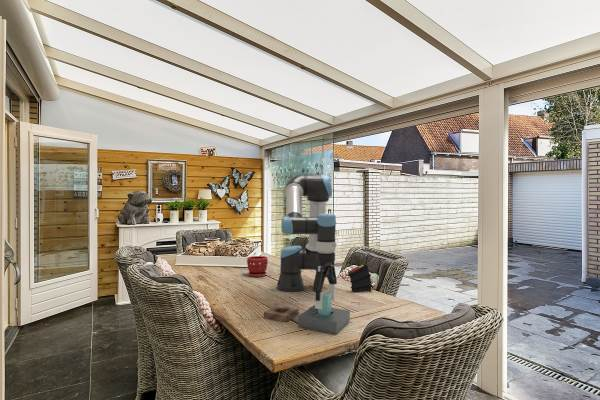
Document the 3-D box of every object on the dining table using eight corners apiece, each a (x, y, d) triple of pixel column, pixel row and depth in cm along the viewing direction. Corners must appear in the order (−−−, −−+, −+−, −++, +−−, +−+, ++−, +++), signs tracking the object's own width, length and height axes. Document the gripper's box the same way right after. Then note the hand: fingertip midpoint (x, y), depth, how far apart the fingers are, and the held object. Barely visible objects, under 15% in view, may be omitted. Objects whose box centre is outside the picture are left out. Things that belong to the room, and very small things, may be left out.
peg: (318, 324, 145) (318, 295, 145) (321, 321, 149) (322, 292, 149) (327, 326, 144) (327, 296, 143) (330, 323, 147) (331, 294, 147)
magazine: (377, 288, 198) (367, 264, 196) (357, 299, 195) (346, 275, 193) (373, 286, 202) (363, 262, 200) (354, 297, 199) (344, 273, 197)
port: (298, 327, 143) (298, 315, 142) (314, 315, 157) (314, 304, 157) (336, 334, 136) (336, 322, 135) (349, 321, 150) (349, 310, 150)
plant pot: (271, 275, 233) (271, 256, 233) (258, 278, 222) (258, 259, 222) (255, 272, 240) (256, 254, 240) (242, 276, 229) (242, 257, 229)
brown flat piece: (263, 317, 152) (264, 311, 152) (276, 310, 162) (276, 305, 162) (286, 322, 148) (286, 316, 148) (298, 314, 158) (298, 308, 157)
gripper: (322, 257, 133) (321, 314, 133) (344, 248, 155) (343, 297, 156) (304, 255, 136) (303, 311, 137) (328, 247, 159) (327, 295, 159)
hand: (325, 304), depth 146 cm, fingers open, 13 cm apart
